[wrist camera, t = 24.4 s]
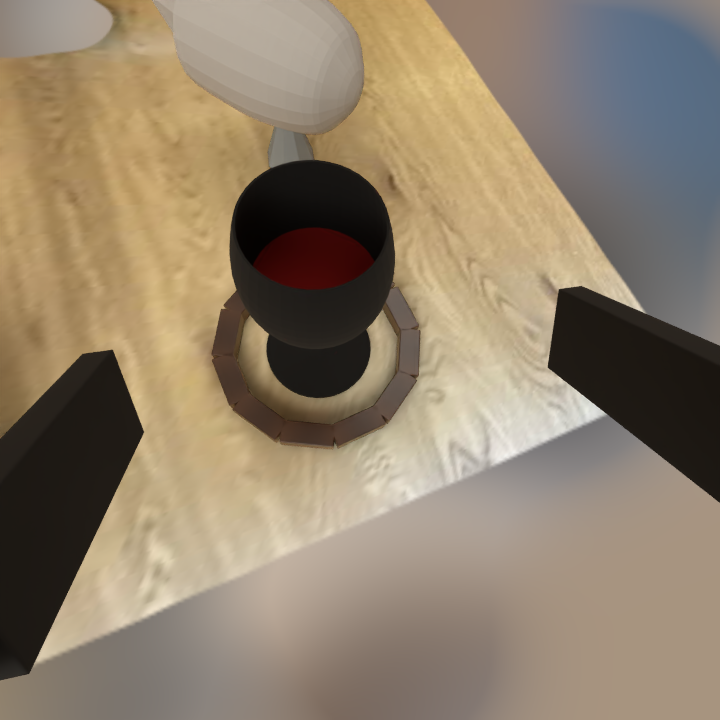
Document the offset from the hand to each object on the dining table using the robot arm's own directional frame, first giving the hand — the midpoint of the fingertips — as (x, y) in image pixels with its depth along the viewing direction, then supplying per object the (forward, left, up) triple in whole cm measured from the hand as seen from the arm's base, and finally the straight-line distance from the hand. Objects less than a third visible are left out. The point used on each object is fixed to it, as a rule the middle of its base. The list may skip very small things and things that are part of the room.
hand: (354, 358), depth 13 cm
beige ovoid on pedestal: (+35, +11, -28) cm, 46 cm away
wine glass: (+10, +3, -28) cm, 30 cm away
